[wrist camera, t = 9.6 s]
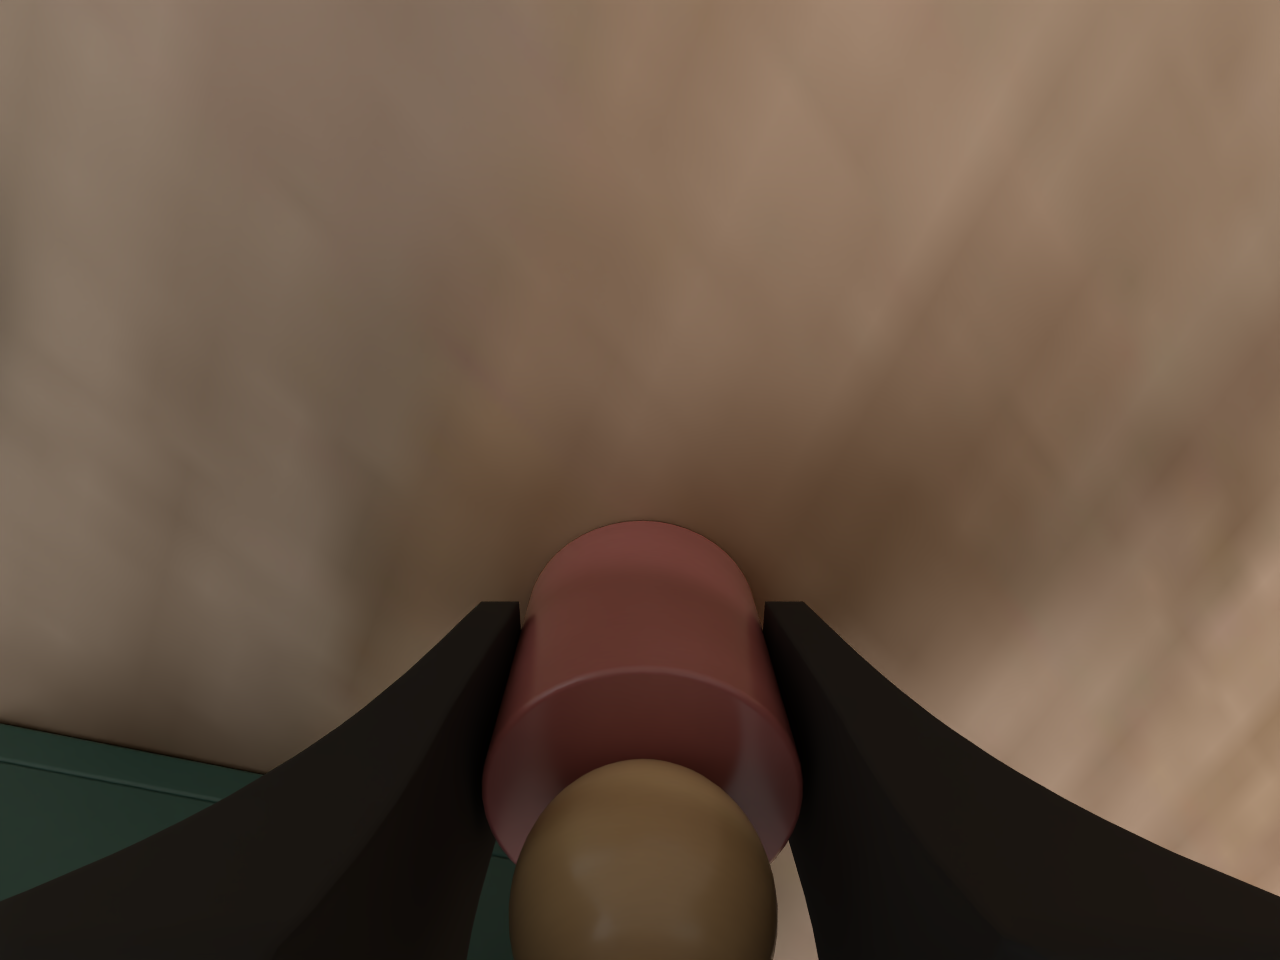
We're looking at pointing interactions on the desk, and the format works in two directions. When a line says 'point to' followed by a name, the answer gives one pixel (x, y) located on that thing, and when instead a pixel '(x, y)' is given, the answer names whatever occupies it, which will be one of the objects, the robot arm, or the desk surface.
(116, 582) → the desk surface
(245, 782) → the cabinet
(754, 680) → the doll
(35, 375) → the desk surface
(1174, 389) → the desk surface
